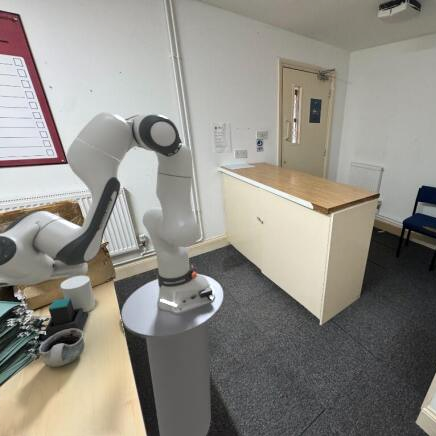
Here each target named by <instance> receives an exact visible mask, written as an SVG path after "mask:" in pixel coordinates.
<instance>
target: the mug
mask: <svg viewBox="0 0 436 436" xmlns="http://www.w3.org/2000/svg"><path fill="white" fill-rule="evenodd" d="M84 336H85V333H84V331H81V330H79V329H67V330H63V331H61V332H58V333H56V334H54V335H53V336H51V337H49V338H48V339H47V340H45V341H42V343H41V344H40V346H39V348H38V352H39V354H40V355H41V358H42V359H41V360H42V362H43V364H44V365H45V366H48V367H53V368H59V367H62V366H64V365H67V364H70V363H71V362H73V361H75V360H76V359H77V358H78V357H80V355H81V354H82V353H83V351H84V350H85V344H86V343H85V339H84Z"/></svg>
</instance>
